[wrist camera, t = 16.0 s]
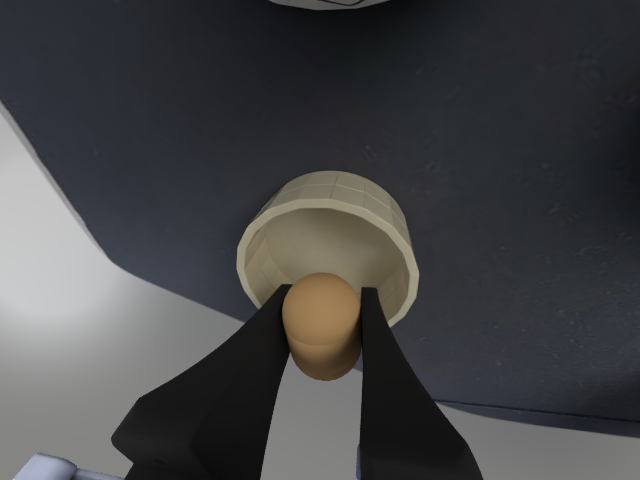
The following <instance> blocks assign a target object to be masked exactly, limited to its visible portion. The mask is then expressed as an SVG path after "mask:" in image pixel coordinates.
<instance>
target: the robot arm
mask: <svg viewBox="0 0 640 480" xmlns="http://www.w3.org/2000/svg"><path fill="white" fill-rule="evenodd" d="M293 285H294V284H281V285H280V286H279V288H278V289H277V290H276V291H275V292H274V293H273V294H272V296H271V297H270V298H269V299H268V300H267V301H266V302H265V303H264V304H263V306H262V307H261V308H260V309H259V310H258V311H257V312H256V313H255V314H254V315H253V316H252V317H251V318H250V319H249V320H248V321H247V322H246V323H245V324H244V325H243V326H242V327H241V328H240V329H239V330H238V331H237V332H236V333H235V334H233V335H232V336H231V337H230V338H229V339H228V340H227V341H226V342H224V343H223V344H222V345H221V346H219V347H218V348H217V349H216V350H214V351H213V352H211V353H210V354H209V355H208V356H206V357H205V358H203V359H202V360H201V361H199V362H198V363H196V364H195V365H193V366H192V367H190V368H189V369H187V370H186V371H184V372H183V373H181V374H180V375H178V376H176V377H175V378H173V379H172V380H170V381H168V382H167V383H165V384H163V385H161V386H160V387H158V388H156V389H154V390H153V391H151V392H149V393H147V394H146V395H143V396H142V397H140V398H139V399H138V400H137V401H136V403H135V404H134V406H133V407H132V408H131V410H130V411H129V413H128V414H127V415H126V417H125V418H124V420H123V421H122V422H121V424H120V425H119V427H118V428H117V429H116V431H115V432H114V434H113V435H112V437H111V441H112V444H113V445H114V447H115V448H116V449H117V450H119V451H120V452H121V453H122V454H123V455H125V456H126V457H127V458H128V459H129V460H131V461H132V462H133V463H134V464H133V466H132V468H131V469H130V471H129V472H128V474H127V476H126V477H125V478H121V477H117V476H112V475H107V474H103V473H98V472H93V471H89V470H84V469H79V468H77V466H76V465H75V464H73V463H72V462H70V461H68V460H66V459H64V458H60V457H56V456H51V455H46V454H42V453H37V454H35V455H34V456H33V457H32V458H31V459H30V461H28V463H27V464H26V465H25V466H24V467H23V468H22V469H21V471H20V472H19V473H18V474H17V475H16V476H15V477H14V479H13V480H260V477H261V471H262V465H263V460H264V454H265V449H266V444H267V439H268V434H269V429H270V424H271V419H272V415H273V410H274V406H275V401H276V397H277V393H278V389H279V385H280V382H281V378H282V375H283V372H284V369H285V366H286V363H287V360H288V357H289V354H290V348H289V344H288V340H287V336H286V332H285V328H284V324H283V318H282V308H283V303H284V299H285V297H286V295H287V293H288V291H289V289H290V288H291V287H292V286H293ZM361 329H362V355H363V381H362V403H361V425H360V443H359V450H360V473H361V480H483V477H482V475H481V472H480V469H479V467H478V465H477V462H476V460H475V458H474V456H473V454H472V452H471V450H470V448H469V446H468V444H467V443H466V441H465V440H464V439H463V438H462V436H461V435H460V434H459V433H458V432H457V430H456V429H455V428H454V427H453V425H452V424H451V423H450V422H449V420H448V419H447V418H446V417H445V415H444V414H443V413H442V411H441V410H440V409H439V407H438V406H437V405H436V403H435V402H434V401H433V399H432V398H431V397H430V395H429V394H428V392H427V391H426V389H425V388H424V386H423V385H422V384H421V382H420V381H419V379H418V378H417V376H416V375H415V373H414V371H413V370H412V368H411V367H410V365H409V363H408V362H407V360H406V358H405V357H404V355H403V353H402V351H401V349H400V347H399V346H398V344H397V342H396V340H395V338H394V336H393V334H392V331H391V329H390V327H389V325H388V322H387V320H386V317H385V315H384V312H383V309H382V306H381V303H380V300H379V296H378V290H377V289H376V288H375V287H361Z"/></svg>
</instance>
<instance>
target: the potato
mask: <svg viewBox="0 0 640 480" xmlns="http://www.w3.org/2000/svg"><path fill="white" fill-rule="evenodd" d="M282 318H283V324H284V328H285V332H286V336H287V340H288V344H289V348H290V352H291V355H292V357H293V360H294V361H295V363H296V365H297V366H298V367H299V369H300V370H301V371H302V372H303V373H305V374H306V375H307V376H309V377H311V378H314V379H317V380H322V381H330V380H335V379H338V378H340V377H342V376H344V375H345V374H347V373H348V372H349V371H350V370H351V369H352V368H353V367H354V365H355V364H356V362H357V360H358V358H359V356H360V352H361V346H362V329H361V307H360V302H359V299H358V297H357V294H356V292H355V291H354V289H353V288H352V287H351V286H350V285H349V284H348V283H347V282H346V281H345V280H344V279H342V278H340V277H339V276H337V275H334V274H330V273H313V274H310V275H307V276H305V277H303V278H301V279H299V280H298V281H297V282H296V283H295V284H294V285H293V286H292V287H291V288H290V289H289V291H288V293H287V295H286V297H285V299H284V303H283V308H282Z"/></svg>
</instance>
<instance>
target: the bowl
mask: <svg viewBox="0 0 640 480" xmlns="http://www.w3.org/2000/svg"><path fill="white" fill-rule="evenodd" d="M237 272H238V275H239V278H240V281H241V284H242V287H243V289H244V291H245V292H246V294H247V295H248V296H249V298H250V299H251V301H252V302H253V303H254V305H255V306H256V307H257V308H258V309H260V308H261V307H262V306H263V304H264V303H265V302H266V301H267V300H268V299H269V298H270V297H271V296H272V294H273V293H274V292H275V291H276V290H277V289H278V288H279V286H280V285H281V284H295V283H296V282H297V281H298V280H299V279H301V278H303V277H305V276H307V275H310V274H313V273H330V274H334V275H337V276H339V277H340V278H342V279H344V280H345V281H346V282H347V283H348V284H349V285H350V286H351V287H352V288H353V289H354V291H355V292H356V294H357V297H358V299H359V302H360V307H361V287H375V288H376V289H377V290H378V296H379V300H380V303H381V306H382V309H383V312H384V315H385V317H386V320H387V322H388V325H389V327H391V326H393V325H394V324H395V323H397V322H398V321H399V320H400V319H402V318H403V317H404V316H405V315H406V313H407V312H408V310H409V308H410V307H411V305H412V303H413V302H414V300H415V298H416V296H417V289H418V281H419V270H418V266H417V262H416V257H415V253H414V249H413V244H412V240H411V236H410V233H409V229H408V225H407V222H406V219H405V216H404V214H403V212H402V210H401V208H400V207H399V205H398V204H397V203H396V201H395V200H394V199H393V198H392V197H391V196H390V195H389V194H388V192H386V191H385V190H384V189H383V188H381V187H380V186H379V185H377V184H375V183H374V182H372V181H370V180H368V179H366V178H364V177H361V176H359V175H355V174H352V173H348V172H341V171H319V172H313V173H309V174H305V175H302V176H300V177H297V178H295V179H293V180H292V181H290V182H288V183H287V184H285V185H284V186H283V187H282V188H280V189H279V190H278V191H277V192H276V194H274V195H273V196H272V197H271V198H270V199H269V201H268V202H267V203H266V204H265V206H264V207H263V208H262V209H261V211H260V212H259V213H258V214H257V216H256V217H255V218H254V219H253V221H252V222H251V223H250V224H249V226H248V227H247V229H246V231H245V233H244V235H243V237H242V239H241V241H240V243H239V245H238V248H237Z"/></svg>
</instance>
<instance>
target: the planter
mask: <svg viewBox="0 0 640 480" xmlns="http://www.w3.org/2000/svg"><path fill="white" fill-rule="evenodd" d="M269 1H271V2H274V3H277V4H282V5H288V6H294V7H300V8H306V9H313V10H331V9H353V8H361V7H365V6H369V5H373V4H377V3H381V2H385V1H389V0H269Z"/></svg>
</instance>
